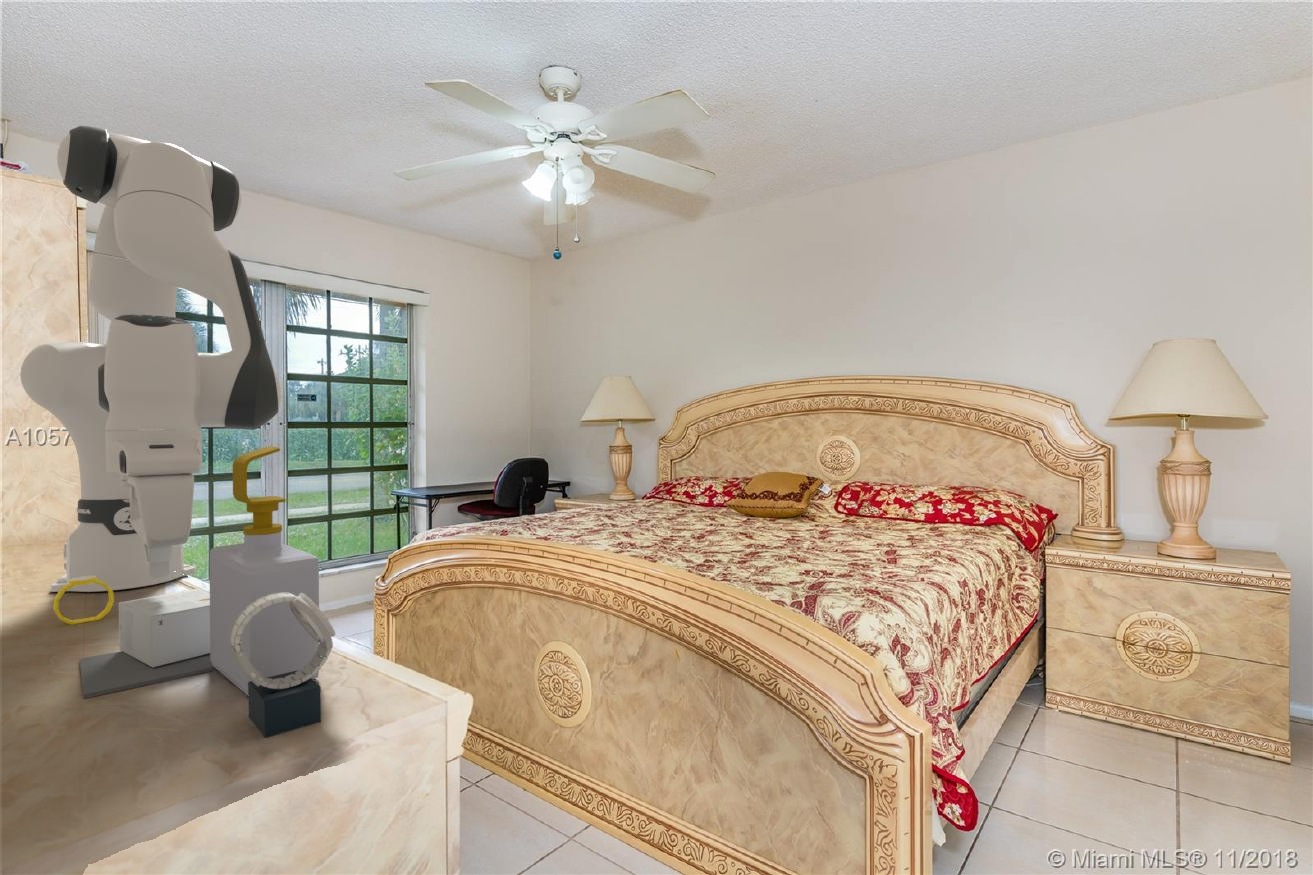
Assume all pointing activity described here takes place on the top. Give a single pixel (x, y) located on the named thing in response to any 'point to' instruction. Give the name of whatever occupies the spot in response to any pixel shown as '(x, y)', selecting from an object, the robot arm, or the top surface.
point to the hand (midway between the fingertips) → (158, 575)
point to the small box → (166, 627)
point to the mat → (133, 672)
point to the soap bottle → (260, 590)
